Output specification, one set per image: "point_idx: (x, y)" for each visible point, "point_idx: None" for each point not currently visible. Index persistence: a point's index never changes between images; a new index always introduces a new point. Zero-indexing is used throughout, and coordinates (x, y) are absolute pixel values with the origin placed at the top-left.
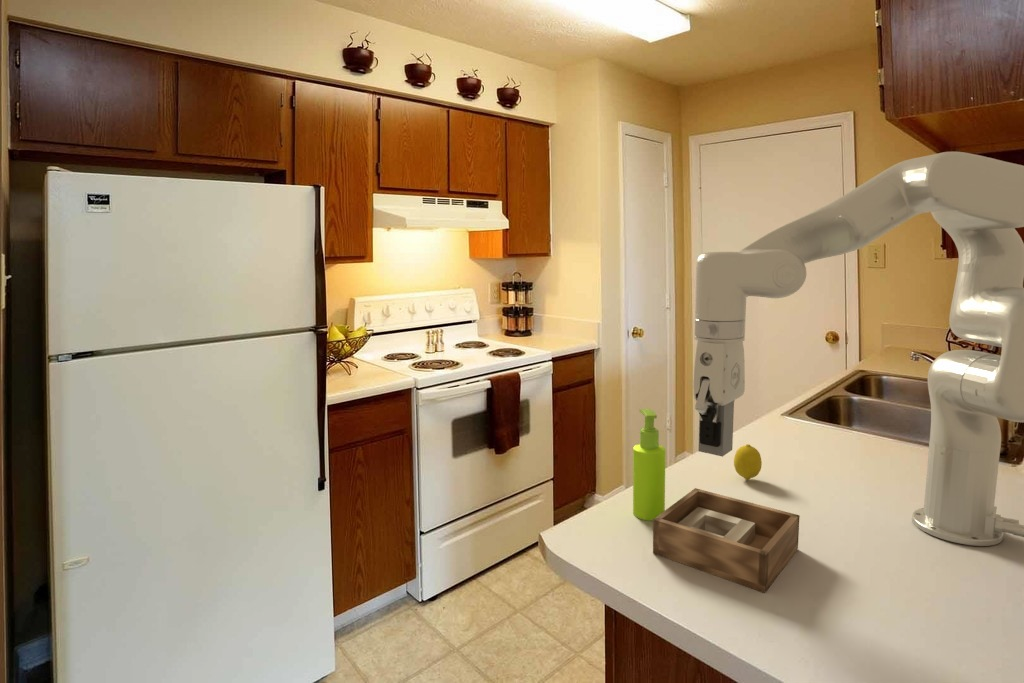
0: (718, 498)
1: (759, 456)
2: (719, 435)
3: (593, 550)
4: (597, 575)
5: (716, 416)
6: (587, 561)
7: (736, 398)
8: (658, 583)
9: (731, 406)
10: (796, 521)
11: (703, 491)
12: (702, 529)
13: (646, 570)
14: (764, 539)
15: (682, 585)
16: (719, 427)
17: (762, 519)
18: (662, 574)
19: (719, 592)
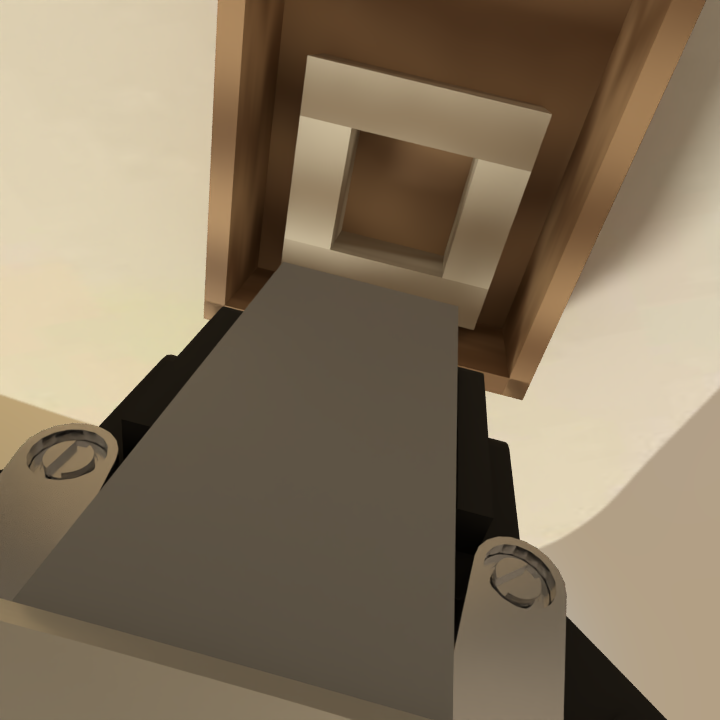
0: (233, 227)
1: None
2: (486, 426)
3: (547, 465)
4: (673, 434)
5: (554, 628)
6: (608, 465)
7: (94, 652)
8: (681, 296)
9: (167, 548)
10: None
11: (215, 287)
12: (357, 238)
13: (615, 337)
14: (304, 15)
15: (677, 233)
16: (490, 483)
17: (260, 29)
18: (626, 295)
19: (697, 118)
